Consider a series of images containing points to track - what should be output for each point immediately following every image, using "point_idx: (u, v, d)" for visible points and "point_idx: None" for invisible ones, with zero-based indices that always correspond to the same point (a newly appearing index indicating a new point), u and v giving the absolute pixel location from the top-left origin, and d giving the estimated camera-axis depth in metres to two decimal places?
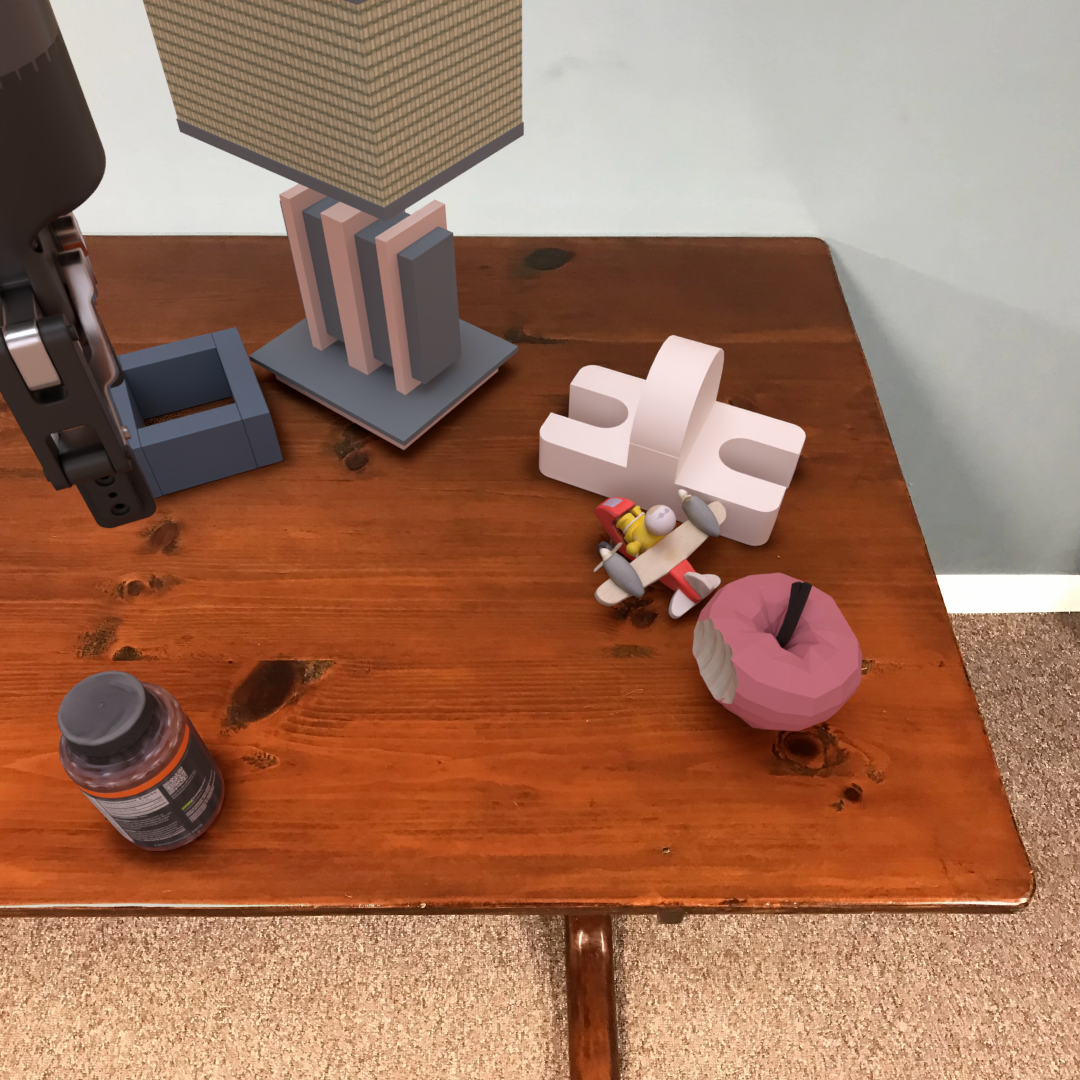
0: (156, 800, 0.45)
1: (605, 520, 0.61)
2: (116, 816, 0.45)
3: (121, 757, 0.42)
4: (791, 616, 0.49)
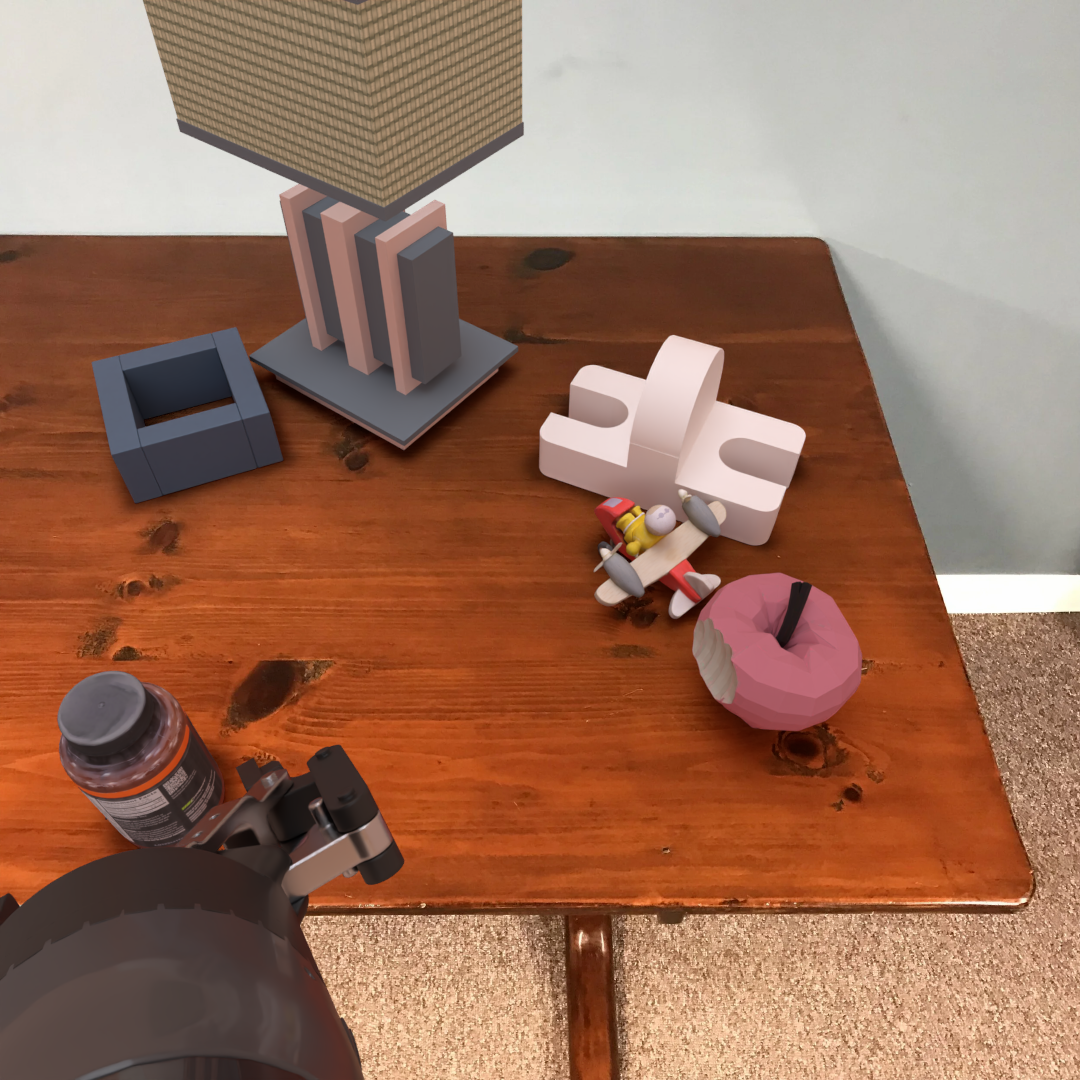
0: (156, 800, 0.45)
1: (605, 520, 0.61)
2: (116, 816, 0.45)
3: (121, 757, 0.42)
4: (791, 616, 0.49)
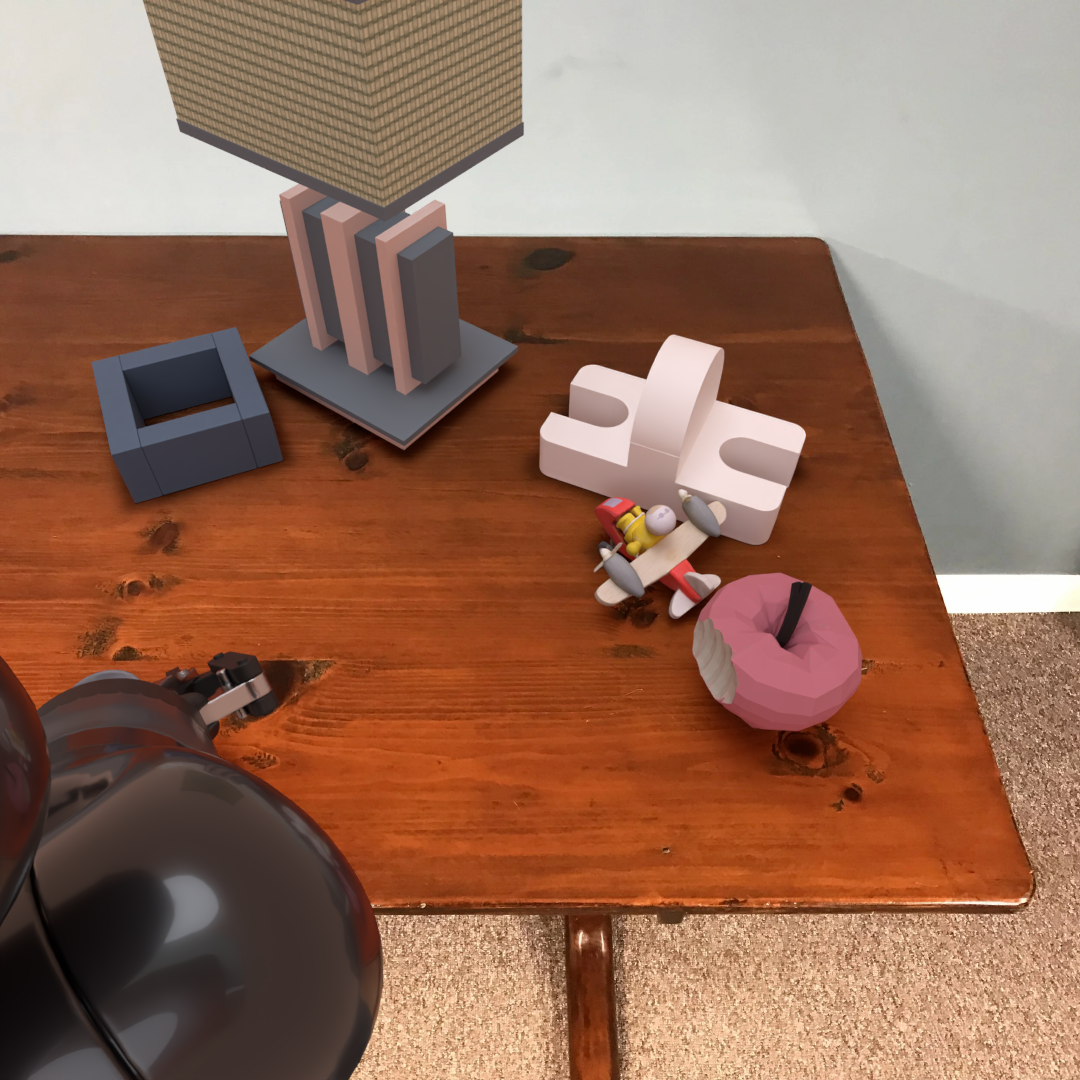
0: None
1: (605, 520, 0.61)
2: None
3: None
4: (791, 616, 0.49)
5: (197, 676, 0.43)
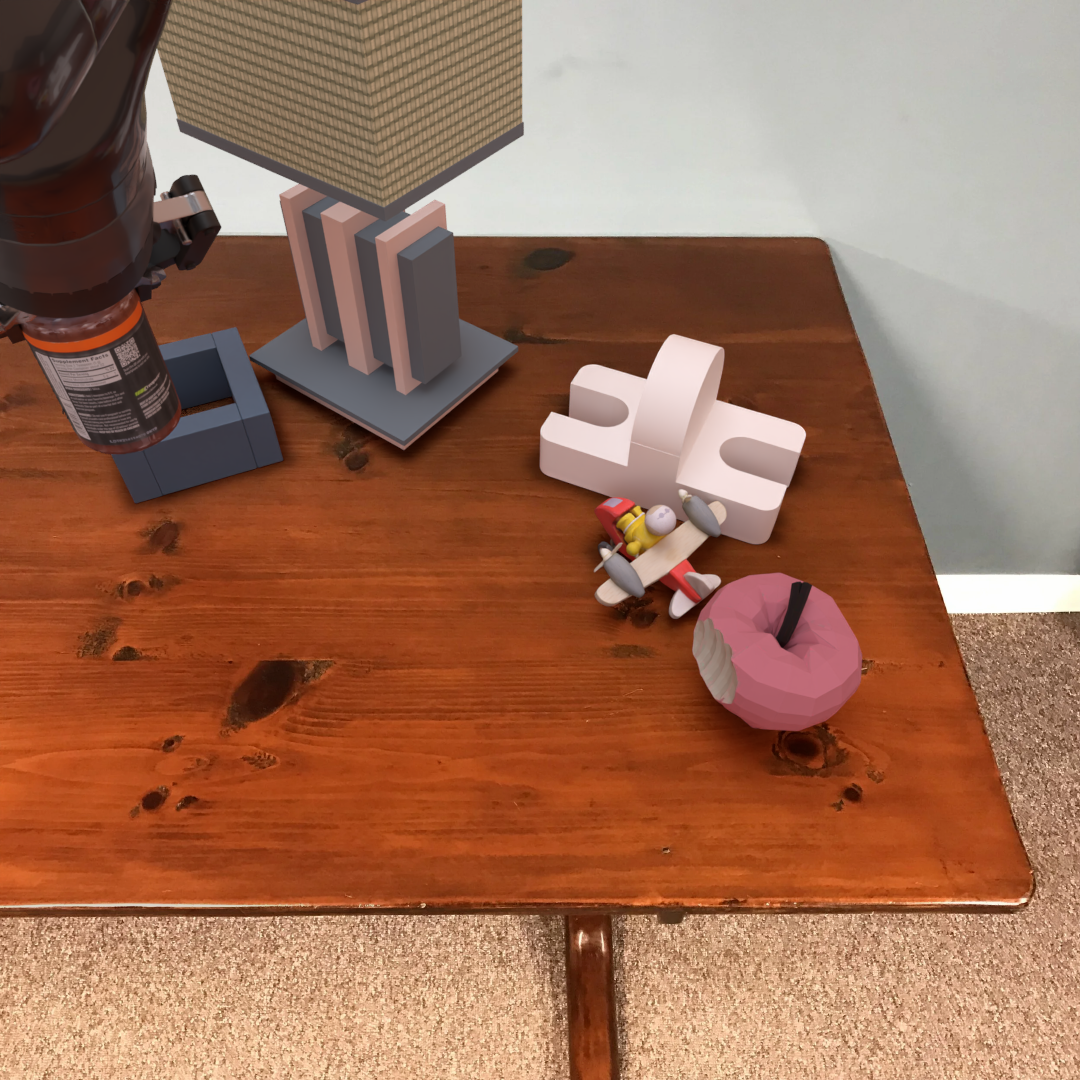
0: (108, 368, 0.46)
1: (606, 520, 0.61)
2: (70, 388, 0.46)
3: None
4: (791, 616, 0.49)
5: None
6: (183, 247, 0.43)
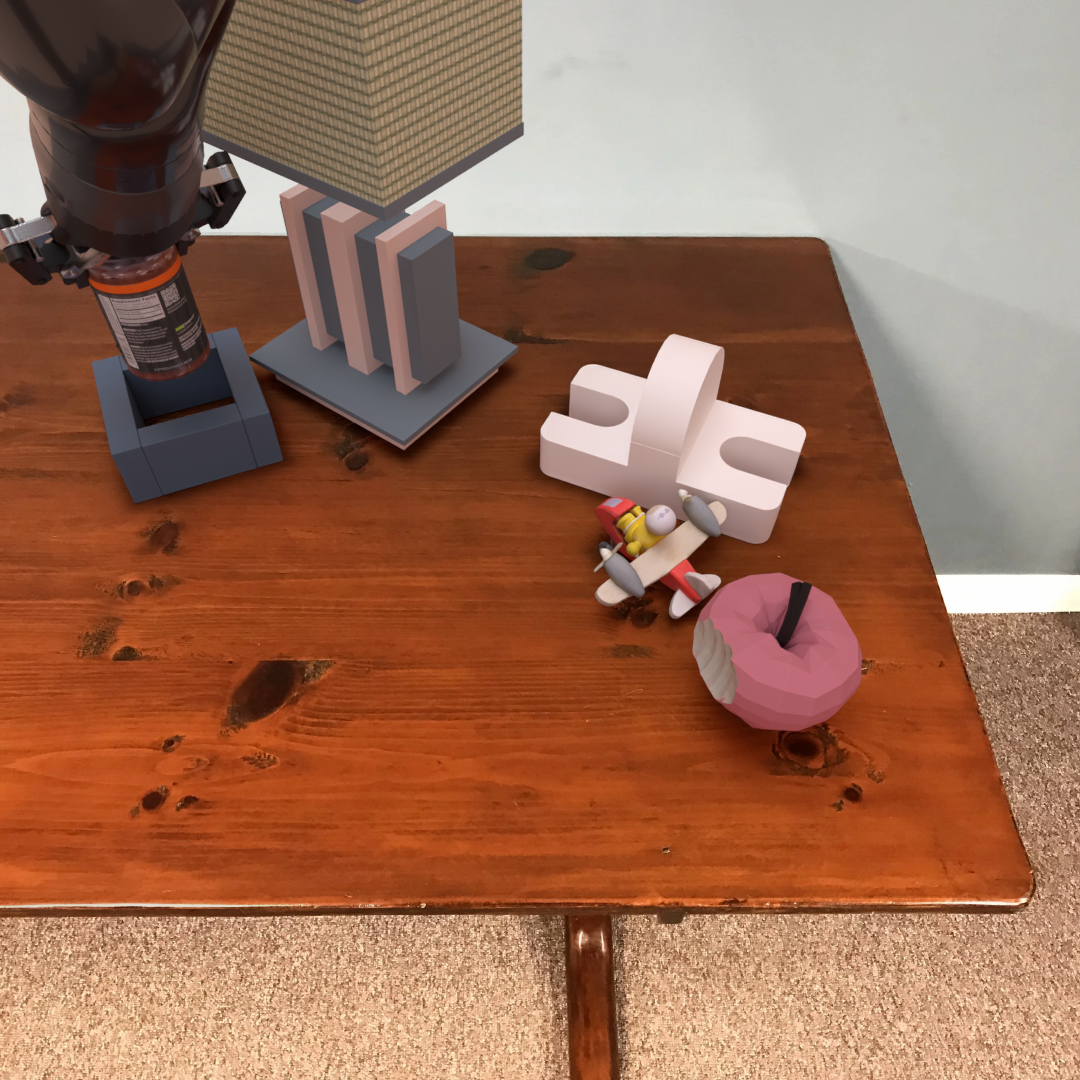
0: (155, 307, 0.58)
1: (606, 520, 0.61)
2: (125, 324, 0.59)
3: None
4: (791, 616, 0.49)
5: None
6: (216, 209, 0.55)
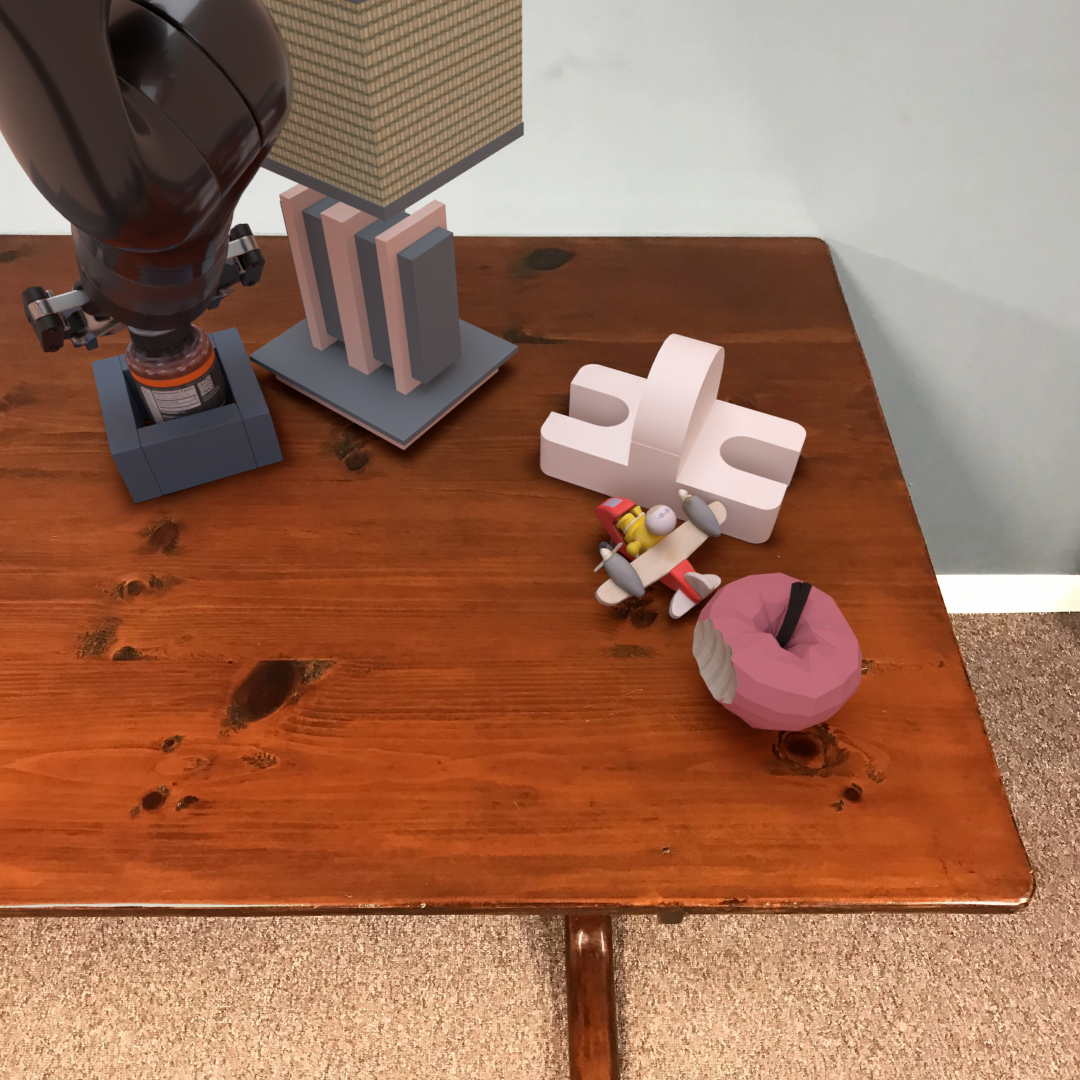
0: (192, 397, 0.64)
1: (606, 520, 0.61)
2: (164, 412, 0.64)
3: (169, 353, 0.62)
4: (791, 616, 0.49)
5: None
6: (242, 273, 0.58)
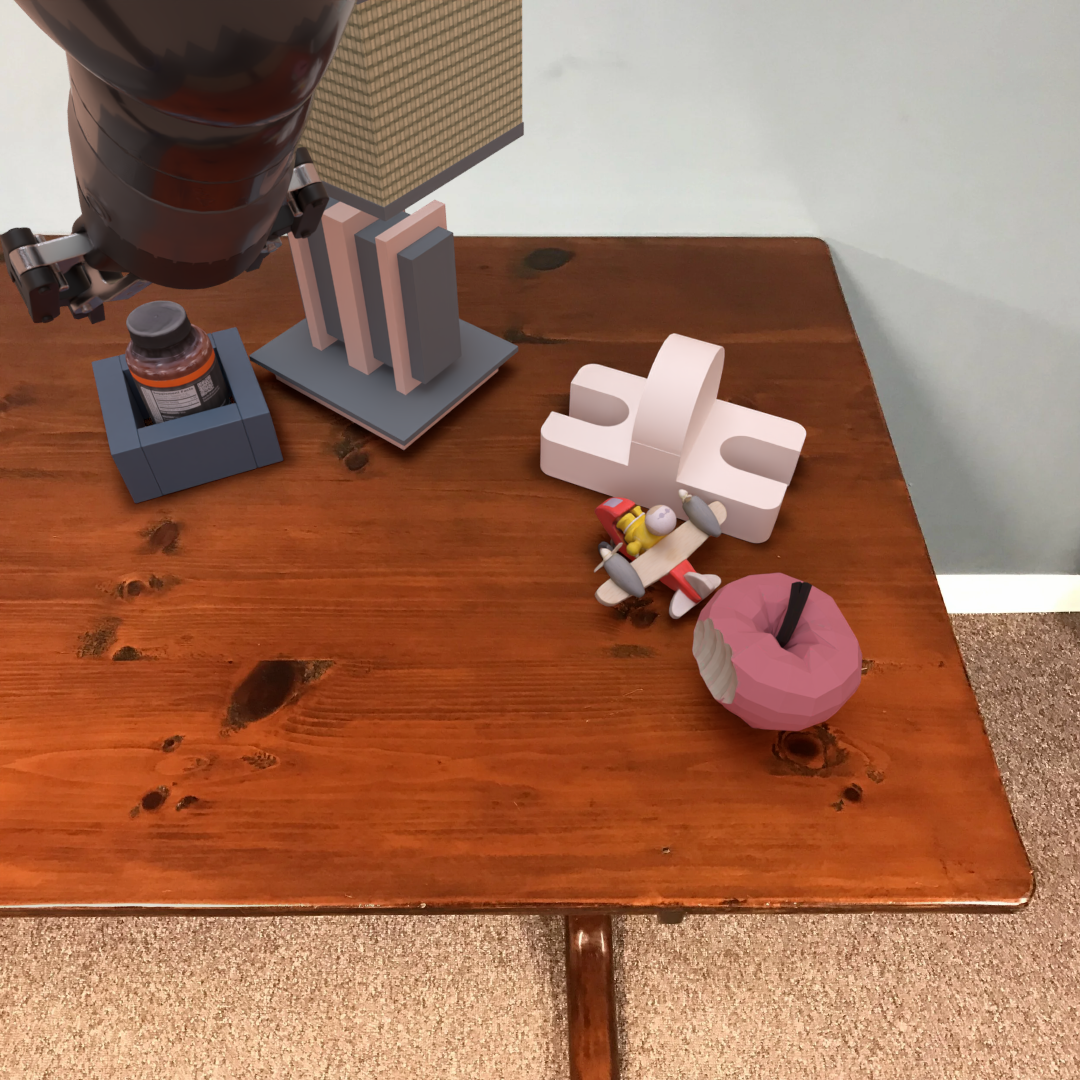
0: (192, 398, 0.64)
1: (606, 520, 0.61)
2: (164, 412, 0.64)
3: (169, 353, 0.62)
4: (791, 616, 0.49)
5: None
6: (296, 218, 0.44)
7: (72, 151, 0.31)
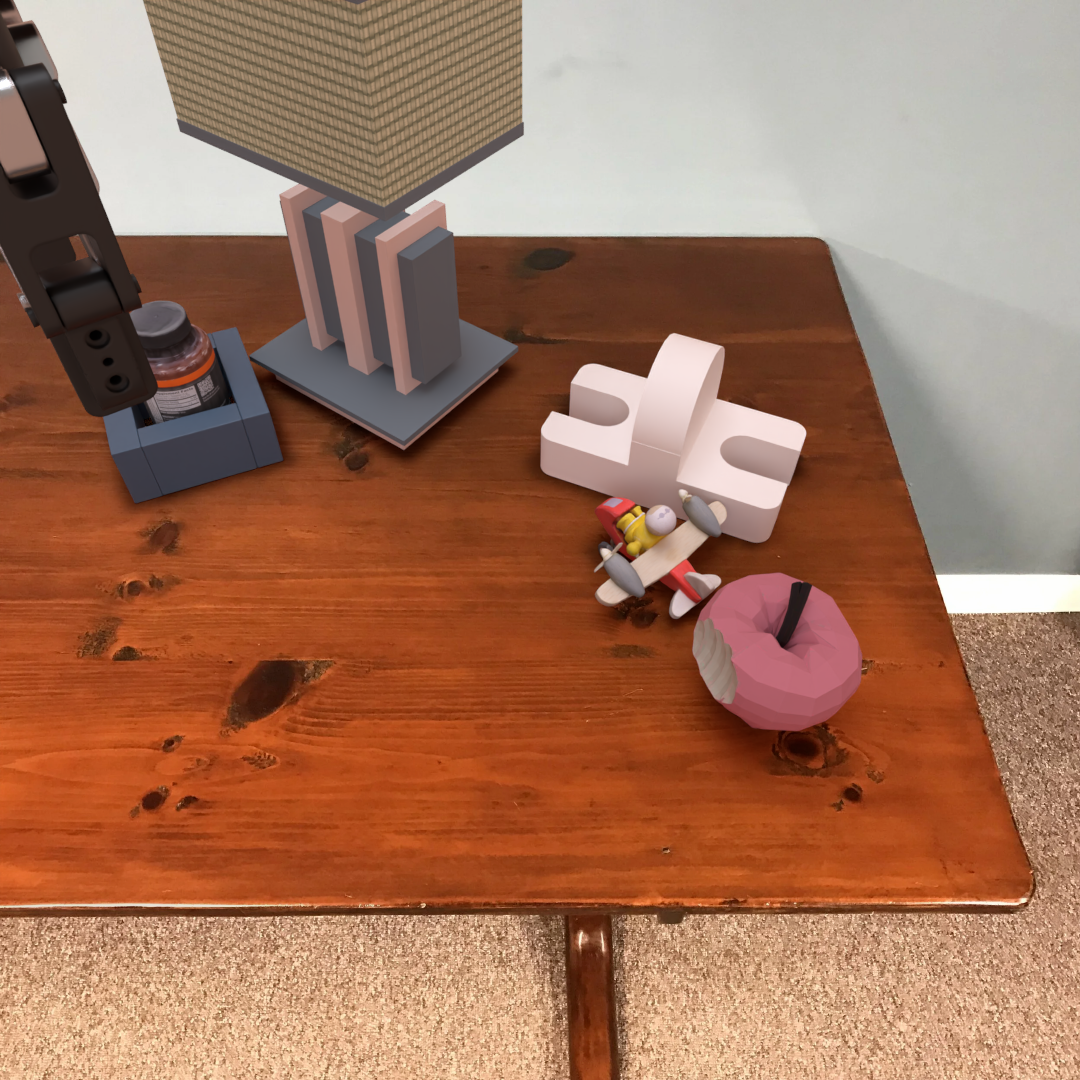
0: (192, 398, 0.64)
1: (606, 520, 0.61)
2: (164, 412, 0.64)
3: (169, 353, 0.62)
4: (791, 616, 0.49)
5: None
6: None
7: None
